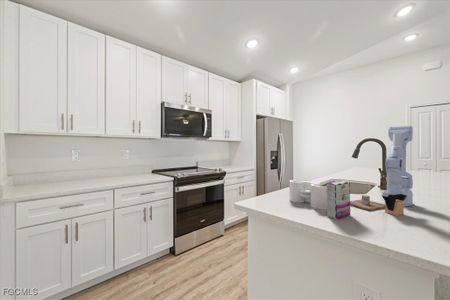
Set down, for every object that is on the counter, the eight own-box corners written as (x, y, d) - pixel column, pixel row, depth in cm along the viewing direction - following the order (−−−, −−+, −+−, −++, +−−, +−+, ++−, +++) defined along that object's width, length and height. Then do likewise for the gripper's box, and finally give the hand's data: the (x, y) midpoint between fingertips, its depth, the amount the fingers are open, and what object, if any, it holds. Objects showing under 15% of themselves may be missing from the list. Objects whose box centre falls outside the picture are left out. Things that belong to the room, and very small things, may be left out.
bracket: (285, 200, 126) (285, 181, 126) (295, 197, 132) (295, 179, 132) (324, 210, 106) (324, 187, 105) (334, 207, 111) (334, 185, 111)
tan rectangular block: (391, 211, 103) (391, 198, 103) (403, 214, 98) (403, 200, 98) (384, 212, 101) (385, 199, 101) (396, 215, 97) (396, 202, 96)
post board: (363, 200, 122) (363, 191, 122) (388, 207, 109) (388, 197, 109) (344, 203, 117) (343, 194, 117) (368, 211, 104) (368, 200, 103)
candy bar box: (340, 212, 102) (340, 180, 102) (350, 215, 98) (350, 181, 97) (326, 216, 97) (326, 182, 97) (336, 219, 93) (335, 184, 92)
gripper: (394, 184, 93) (394, 213, 94) (413, 182, 98) (412, 209, 99) (377, 182, 100) (377, 209, 100) (396, 180, 105) (396, 205, 105)
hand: (394, 209), depth 100 cm, fingers closed on tan rectangular block, 5 cm apart
